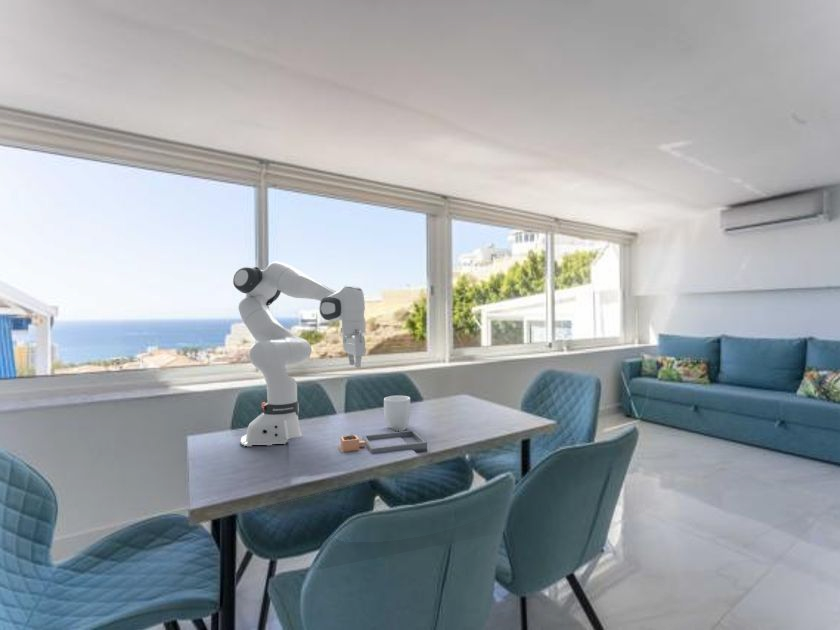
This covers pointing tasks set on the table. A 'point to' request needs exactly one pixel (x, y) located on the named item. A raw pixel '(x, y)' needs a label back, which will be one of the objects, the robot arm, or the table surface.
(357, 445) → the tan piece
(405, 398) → the mug
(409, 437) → the tray
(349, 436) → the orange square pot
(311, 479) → the table surface
